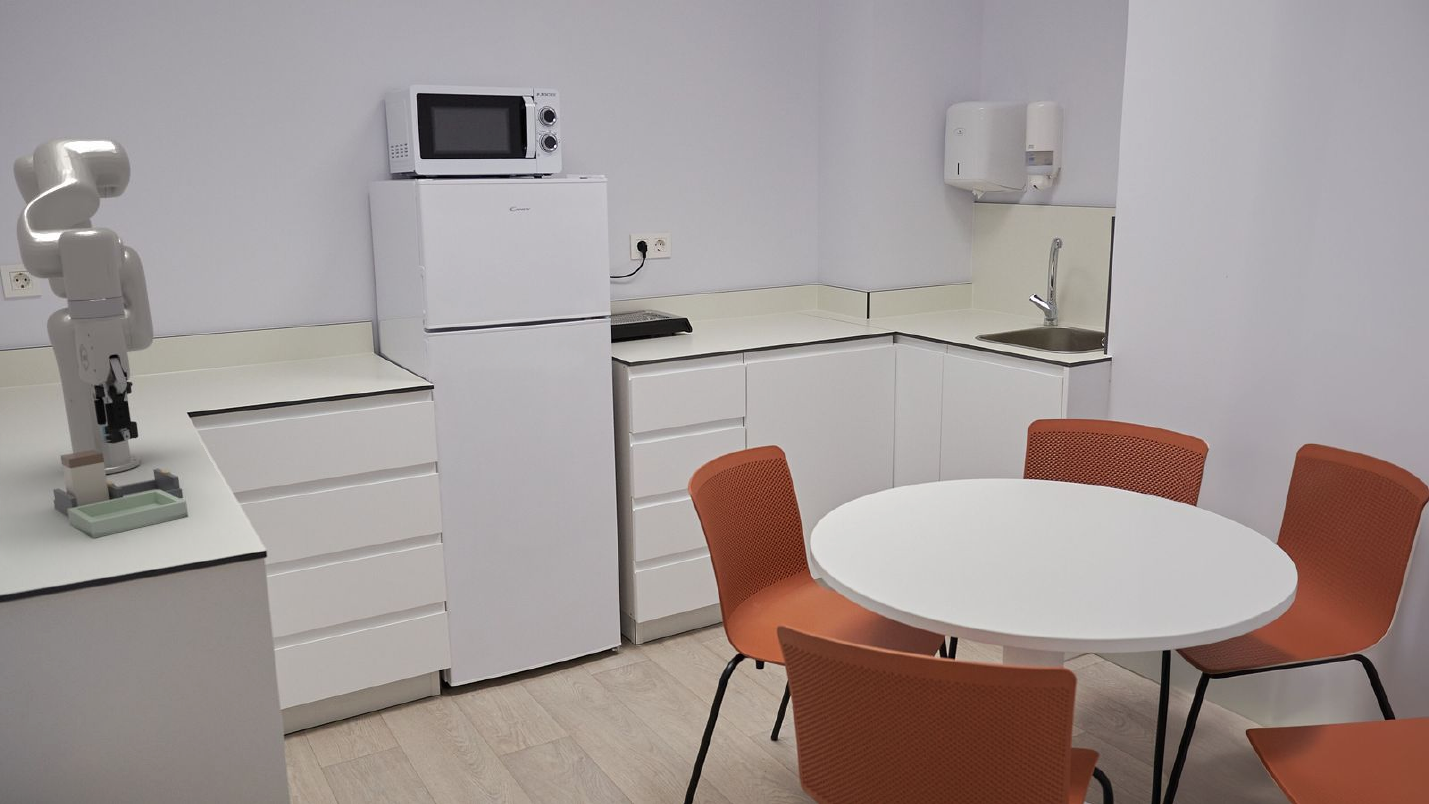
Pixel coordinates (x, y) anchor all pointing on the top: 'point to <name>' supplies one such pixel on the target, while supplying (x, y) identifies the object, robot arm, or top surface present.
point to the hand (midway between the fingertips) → (114, 424)
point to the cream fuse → (85, 477)
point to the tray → (127, 513)
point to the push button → (117, 433)
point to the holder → (125, 490)
